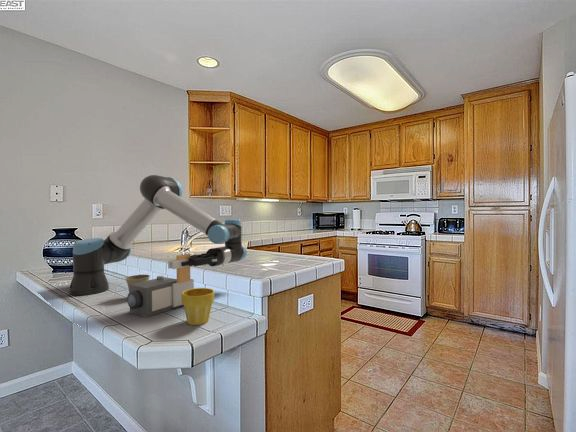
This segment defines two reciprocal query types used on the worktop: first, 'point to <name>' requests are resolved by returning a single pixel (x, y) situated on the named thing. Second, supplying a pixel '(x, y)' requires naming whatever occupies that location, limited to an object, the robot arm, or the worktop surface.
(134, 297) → the camera body
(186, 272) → the sliding cover
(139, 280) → the flower pot
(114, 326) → the worktop surface
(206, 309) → the plant pot
